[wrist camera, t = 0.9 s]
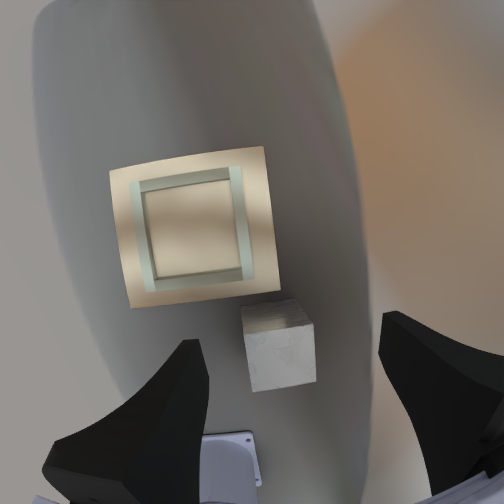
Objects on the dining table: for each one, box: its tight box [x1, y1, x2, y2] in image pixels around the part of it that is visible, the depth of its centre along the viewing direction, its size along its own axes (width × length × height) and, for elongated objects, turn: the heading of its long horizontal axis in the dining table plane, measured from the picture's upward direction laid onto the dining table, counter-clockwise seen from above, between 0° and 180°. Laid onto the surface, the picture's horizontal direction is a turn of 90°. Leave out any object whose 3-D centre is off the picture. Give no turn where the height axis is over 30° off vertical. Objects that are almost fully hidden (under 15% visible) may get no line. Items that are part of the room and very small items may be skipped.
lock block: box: [240, 298, 316, 392], centre depth 22 cm, size 4×4×6 cm
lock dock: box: [109, 146, 281, 308], centre depth 23 cm, size 11×12×2 cm
